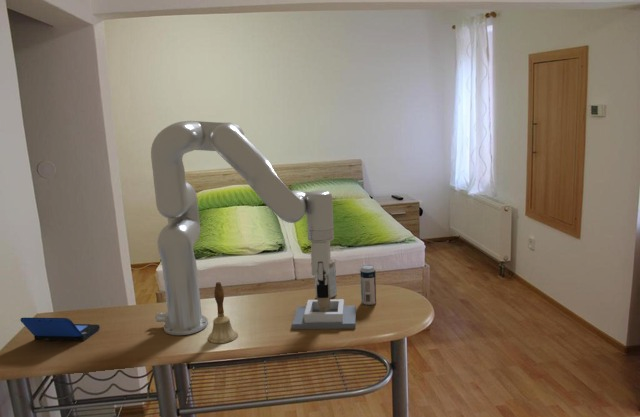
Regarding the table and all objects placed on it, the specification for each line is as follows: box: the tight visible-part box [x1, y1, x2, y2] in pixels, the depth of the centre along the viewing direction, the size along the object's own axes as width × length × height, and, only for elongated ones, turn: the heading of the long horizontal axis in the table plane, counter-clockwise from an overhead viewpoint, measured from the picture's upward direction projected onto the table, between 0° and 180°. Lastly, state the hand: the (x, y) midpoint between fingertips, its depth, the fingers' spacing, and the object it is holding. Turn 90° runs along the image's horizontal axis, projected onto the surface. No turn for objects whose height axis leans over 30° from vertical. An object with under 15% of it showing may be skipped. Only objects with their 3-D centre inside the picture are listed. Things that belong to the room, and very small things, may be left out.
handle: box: [310, 259, 334, 312], centre depth 149 cm, size 5×6×15 cm
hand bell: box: [207, 281, 239, 344], centre depth 142 cm, size 8×8×16 cm
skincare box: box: [314, 260, 338, 299], centre depth 168 cm, size 6×4×12 cm
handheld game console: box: [20, 317, 100, 343], centre depth 147 cm, size 16×13×9 cm
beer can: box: [359, 264, 377, 306], centre depth 161 cm, size 5×5×12 cm
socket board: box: [291, 298, 357, 330], centre depth 151 cm, size 18×13×4 cm
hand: (323, 293), depth 150 cm, fingers closed on handle, 3 cm apart
